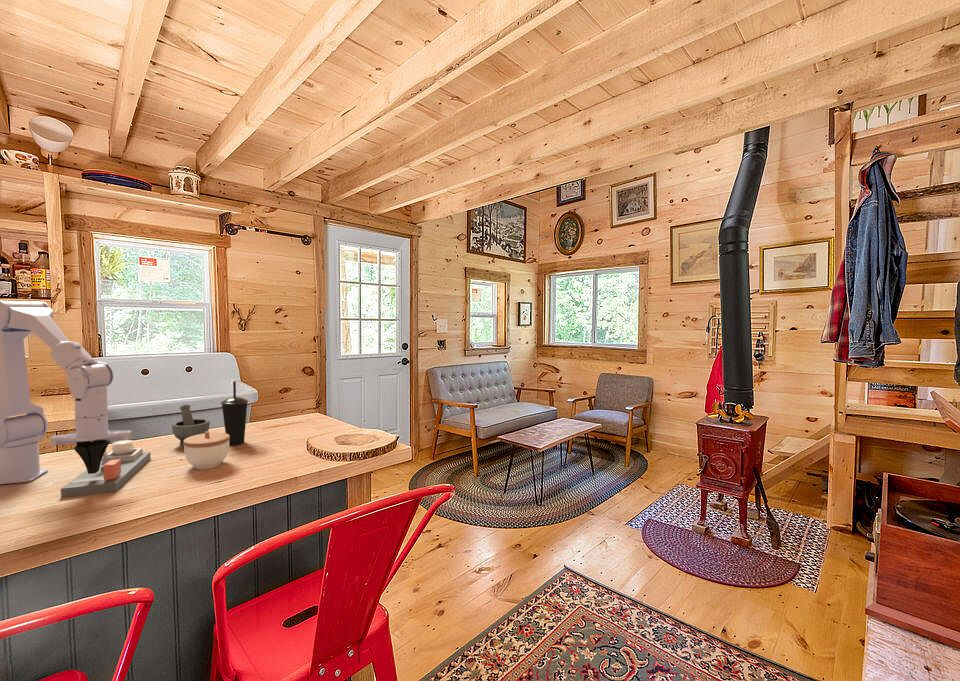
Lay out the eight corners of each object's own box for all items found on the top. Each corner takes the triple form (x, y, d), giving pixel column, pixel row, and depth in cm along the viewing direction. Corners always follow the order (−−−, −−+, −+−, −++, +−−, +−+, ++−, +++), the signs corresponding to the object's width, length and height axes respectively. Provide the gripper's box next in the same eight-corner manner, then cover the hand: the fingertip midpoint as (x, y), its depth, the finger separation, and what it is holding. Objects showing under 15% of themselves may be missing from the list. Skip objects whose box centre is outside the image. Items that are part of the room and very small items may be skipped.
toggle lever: (102, 462, 109) (93, 450, 108) (105, 460, 111) (97, 447, 110) (110, 459, 110) (101, 446, 109) (113, 457, 111) (104, 444, 111)
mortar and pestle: (214, 443, 139) (213, 406, 138) (180, 450, 131) (179, 411, 130) (200, 437, 145) (199, 401, 145) (167, 443, 138) (166, 406, 137)
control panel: (61, 497, 98) (60, 482, 98) (106, 462, 120) (106, 450, 120) (116, 491, 101) (115, 476, 101) (150, 458, 124) (150, 446, 123)
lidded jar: (237, 464, 121) (237, 430, 120) (195, 475, 112) (194, 439, 111) (218, 456, 127) (218, 424, 126) (176, 466, 118) (176, 432, 117)
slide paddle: (103, 479, 102) (103, 465, 102) (110, 473, 106) (110, 460, 106) (114, 478, 103) (113, 464, 103) (121, 472, 107) (120, 459, 106)
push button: (109, 454, 115) (109, 445, 115) (116, 450, 119) (115, 441, 119) (129, 453, 117) (129, 444, 117) (135, 448, 121) (135, 439, 121)
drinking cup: (225, 440, 142) (223, 379, 141) (251, 439, 144) (250, 379, 143) (218, 447, 135) (217, 383, 133) (246, 445, 137) (245, 382, 136)
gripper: (41, 421, 96) (44, 482, 97) (123, 417, 101) (125, 474, 102) (58, 414, 102) (61, 471, 103) (134, 410, 108) (135, 464, 108)
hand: (93, 472), depth 103 cm, fingers closed
